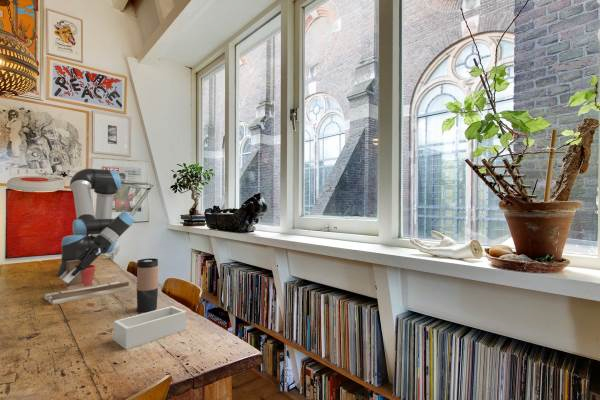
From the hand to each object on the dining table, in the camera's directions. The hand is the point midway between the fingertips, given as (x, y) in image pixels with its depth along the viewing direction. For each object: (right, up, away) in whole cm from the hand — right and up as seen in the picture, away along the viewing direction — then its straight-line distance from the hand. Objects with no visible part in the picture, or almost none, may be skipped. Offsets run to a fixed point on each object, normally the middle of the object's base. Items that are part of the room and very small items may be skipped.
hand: (63, 280), depth 137 cm
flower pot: (-9, -9, +24) cm, 27 cm away
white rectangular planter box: (+55, -9, -34) cm, 65 cm away
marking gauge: (+2, -4, +3) cm, 6 cm away
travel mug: (+42, -9, -11) cm, 44 cm away
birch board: (+4, -9, +10) cm, 14 cm away
